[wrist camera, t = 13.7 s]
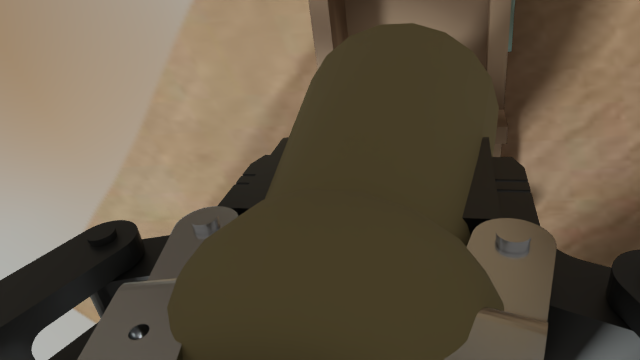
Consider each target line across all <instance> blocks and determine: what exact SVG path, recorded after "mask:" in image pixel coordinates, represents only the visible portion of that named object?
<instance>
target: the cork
mask: <svg viewBox="0 0 640 360" xmlns="http://www.w3.org/2000/svg"><path fill="white" fill-rule="evenodd" d="M498 111H499V106H498V102H497V98H496V94H495V90H494V86H493V83H492V79H491V77H490V75H489V74H488V72H487V71H486V70H485V68H484V67H483V65H482V64H481V62H480V61H479V60H478V58H477V57H476V55H475V54H474V52H473V51H471V50H470V49H469V48H467V47H466V46H464V45H463V44H461V43H460V42H459V41H457V40H456V39H454V38H453V37H451V36H450V35H449V34H447V33H446V32H442V31H439V30H436V29H432V28H429V27H425V26H422V25H418V24H415V23H404V24H382V25H377V26H375V27H372V28H370V29H367V30H364V31H362V32H359V33H357V34H354V35H351V36H349V37H348V38H347V39H346V40H345V41H343V42H342V43H341V44H340V45H339V46H337V47H336V48H335V49H334V50H333V51H331V52H330V53H329V54H328V55H327V56H326V57H325V59H324V60H323V62H322V64H321V65H320V67H319V69H318V70H317V72H316V74H315V75H314V77H313V79H312V80H311V83H310V85H309V88H308V90H307V93H306V95H305V98H304V101H303V103H302V106H301V108H300V111H299V113H298V116H297V118H296V121H295V123H294V126H293V128H292V131H291V133H290V136H289V139H288V141H287V144H286V146H285V149H284V151H283V154H282V156H281V159H280V161H279V164H278V166H277V169H276V171H275V174H274V177H273V179H272V182H271V184H270V187H269V189H268V192H267V194H266V197H265V199H264V200H262V201H260V202H259V203H257V204H256V205H254V206H253V207H251V208H250V209H248V210H247V211H246V212H244V213H243V214H241V215H240V216H238V217H237V218H235V219H234V220H232V221H231V222H229V223H228V224H227V225H225V226H224V227H222V228H221V229H219V230H218V231H216V232H215V233H213V234H212V235H210V236H209V237H207V238H206V239H205V240H204V241H203V242H202V244H201V245H200V246H199V247H198V249H197V250H196V251H195V253H194V254H193V255H192V256H191V258H190V259H189V260H188V261H187V263H186V264H185V265H184V267H183V269H182V270H181V272H180V274H179V276H178V277H177V279H176V283H175V286H174V289H173V292H172V295H171V297H170V300H169V303H168V306H167V311H168V317H169V324H170V330H171V332H172V335H173V337H174V339H175V340H176V341H177V342H179V343H181V344H182V353H183V360H444V359H445V358H447V357H448V356H449V355H451V354H452V353H454V352H455V351H457V350H458V349H459V348H460V347H461V346H462V345H463V344H464V343H465V342H466V341H467V339H468V337H469V334H470V331H471V329H472V326H473V323H474V321H475V318H476V316H477V314H478V312H479V311H480V310H481V309H483V308H484V307H490V308H494V309H498V310H502V311H504V304H503V301H502V300H501V298H500V296H499V294H498V292H497V290H496V289H495V287H494V285H493V283H492V281H491V280H490V278H489V276H488V274H487V272H486V271H485V269H484V268H483V267H482V266H481V265H480V263H479V262H478V261H477V260H476V258H475V257H474V256H473V255H472V253H471V252H470V251H469V250H468V249H467V245H468V242H469V240H470V237H471V234H470V231H469V228H468V225H467V223H466V222H465V221H464V220H463V218H462V216H463V212H464V209H465V205H466V201H467V197H468V194H469V190H470V186H471V182H472V179H473V175H474V171H475V167H476V164H477V160H478V156H479V151H480V146H481V142H482V138H483V137H489V142H490V149H491V155H492V157H493V152H494V145H495V139H496V130H497V121H498Z"/></svg>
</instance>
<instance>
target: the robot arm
mask: <svg viewBox="0 0 640 360" xmlns="http://www.w3.org/2000/svg"><path fill="white" fill-rule="evenodd" d="M288 139H289V138H283V139H282V140H281V142H280V143H279V144H278V146H277V147H276V148H275V150H274V151H273V152H272V154H271V155H265V156H263V157H261V158H260V159H258V160H257V161H255V162H253V163H252V164H251V165H250V166H249V167H248V168H247V170H246V171H245V172H244V173H243V176H241V177H240V178H239V180H238V181H237V182H236V185H234V186H233V187H232V188H231V190H230V191H229V192H228V193H227V195H226V196H225V197H224V198H223V200H222V201H221V202H220V203H219V205H218V206H214V207H207V208H203V209H199V210H196V211H194V212H192V213H190V214H188V215H186V216H185V217H183V218H182V219H181V220H179V221H178V223H177V224H176V225H175V227H174V229H173V231H172V233H171V234H170V235H168V236H161V237H155V238H148V239H141V236H140V234H139V231H138V228H137V226H136V225H135V224H134V223H132V222H130V221H125V220H117V221H110V222H106V223H102V224H100V225H97V226H94V227H92V228H90V229H88V230H86V231H85V232H83V233H81V234H79V235H78V236H76V237H74V238H73V239H71V240H69V241H67V242H66V243H64V244H62V245H61V246H59V247H57V248H55V249H54V250H52V251H50V252H48V253H47V254H45V255H43V256H42V257H40V258H38V259H36V260H35V261H33V262H32V263H30V264H28V265H26V266H24V267H23V268H21V269H19V270H17V271H16V272H14V273H13V274H11V275H9V276H7V277H5V278H4V279H2V280H0V360H35V358H34V357H33V355H32V351H31V348H32V343H33V341H34V339H35V337H36V336H37V335H38V333H39V332H40V331H41V330H42V329H44V328H45V327H46V326H48V325H49V324H51V323H52V322H54V321H55V320H57V319H58V318H59V317H61V316H62V315H64V314H65V313H67V312H68V311H69V310H71V309H72V308H74V307H75V306H77V305H78V304H80V303H81V302H82V301H84V300H85V299H87V298H88V297H91V299H92V301H93V304H94V306H95V308H96V310H97V312H98V314H99V316H100V318H101V319H100V321H99V322H98V323H97V324H95V325H94V326H93V327H91V328H90V329H89V330H87V331H86V332H85V333H83V334H82V335H81V336H79V337H78V338H77V339H75V340H74V341H73V342H71V343H70V344H69V345H67V346H66V347H65V348H64V349H62V350H61V351H59V352H58V353H57V354H55V355H54V356H53V357H51V358H50V359H49V360H183V353H182V344H181V343H179V342H177V341H176V340H175V339H174V337H173V335H172V332H171V330H170V324H169V317H168V311H167V306H168V303H169V300H170V297H171V295H172V292H173V289H174V286H175V283H176V279H177V277H178V276H179V274H180V272H181V270H182V269H183V267H184V265H185V264H186V263H187V261H188V260H189V259H190V258H191V256H192V255H193V254H194V253H195V251H196V250H197V249H198V247H199V246H200V245H201V244H202V242H203V241H204V240H205V239H206V238H207V237H209V236H210V235H212V234H213V233H215V232H216V231H218V230H219V229H221V228H222V227H224V226H225V225H227V224H228V223H229V222H231V221H232V220H234V219H235V218H237V217H238V216H240V215H241V214H243V213H244V212H246V211H247V210H248V209H250V208H251V207H253V206H254V205H256V204H257V203H259V202H260V201H262V200H264V199H265V197H266V194H267V192H268V189H269V187H270V184H271V182H272V179H273V177H274V174H275V171H276V169H277V166H278V164H279V161H280V159H281V156H282V154H283V151H284V149H285V146H286V144H287V141H288ZM462 218H463V220H464V221H465V222H466V223H467V225H468V228H469V231H470V234H471V237H470V240H469V242H468V245H467V249H468V250H469V251H470V252H471V253H472V255H473V256H474V257H475V258H476V260H477V261H478V262H479V263H480V265H481V266H482V267H483V268H484V269H485V271H486V272H487V274H488V276H489V278H490V280H491V281H492V283H493V285H494V287H495V289H496V290H497V292H498V294H499V296H500V298H501V300H502V301H503V304H504V311H502V310H498V309H494V308H490V307H484V308H483V309H481V310H480V311H479V312H478V314H477V316H476V318H475V321H474V323H473V326H472V329H471V331H470V334H469V337H468V339H467V341H466V342H465V343H464V344H463V345H462V346H461V347H460V348H459V349H458V350H457V351H455V352H454V353H452V354H451V355H449V356H448V357H447V358H445V359H444V360H640V250H633V251H629V252H626V253H623V254H621V255H620V256H618V257H617V258H616V259H615V260H614V262H613V265H612V268H610V267H606V266H602V265H598V264H594V263H590V262H586V261H583V260H580V259H577V258H574V257H571V256H569V255H567V254H565V253H563V252H561V251H559V250H558V249H557V244H556V241H555V239H554V238H553V236H552V235H551V234H550V233H549V232H548V231H547V230H545V229H544V228H542V227H540V223H539V220H538V216H537V212H536V209H535V205H534V201H533V198H532V194H531V193H530V187H529V183H528V179H527V176H526V172H525V168H524V167H523V166H522V165H521V164H519V163H518V162H517V161H516V160H515V159H514V158H512V157H492V155H491V149H490V142H489V137H483V138H482V142H481V146H480V151H479V156H478V160H477V164H476V167H475V171H474V175H473V179H472V182H471V186H470V190H469V194H468V197H467V201H466V205H465V209H464V212H463V216H462Z"/></svg>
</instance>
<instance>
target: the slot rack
mask: <svg viewBox="0 0 640 360" xmlns="http://www.w3.org/2000/svg"><path fill="white" fill-rule="evenodd" d="M309 8H310V15H311V23H312V31H313V38H314V46H315V53H316V61H317V68H318V69H319V67H320V65H321V64H322V62H323V60H324V59H325V57H326V56H327V55H328V54H329V53H330V52H331V51H333V50H334V49H335V48H336V47H337V46H339V45H340V44H341V43H342V42H343V41H345V40H346V39H347V38H348V37H349V36H351V35H354V34H357V33H359V32H362V31H364V30H367V29H370V28H372V27H375V26H377V25H382V24H404V23H415V24H418V25H422V26H425V27H429V28H432V29H436V30H439V31H442V32H446V33H447V34H449V35H450V36H451V37H453V38H454V39H456V40H457V41H459V42H460V43H461V44H463V45H464V46H466V47H467V48H469V49H470V50H471V51H473V52H474V54H475V55H476V57H477V58H478V60H479V61H480V62H481V64H482V65H483V67H484V68H485V70H486V71H487V72H488V74H489V75H490V77H491V79H492V83H493V86H494V90H495V94H496V98H497V102H498V106H499V111H498V121H497V130H496V139H495V145H494V152H493V157H501V144H507V135H508V124H507V120H506V116H505V112H504V100H505V86H506V71H507V56H508V52H511V50H512V36H513V22H514V8H515V0H309Z"/></svg>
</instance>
